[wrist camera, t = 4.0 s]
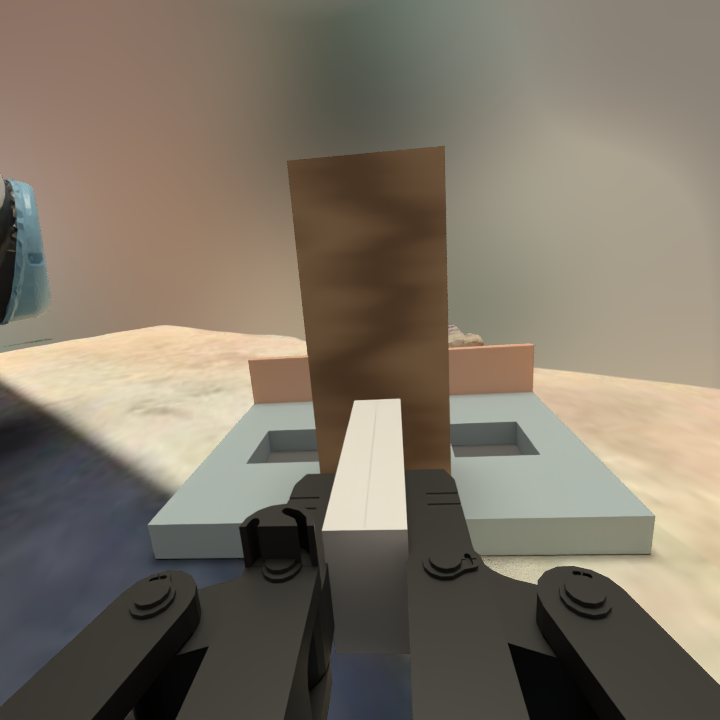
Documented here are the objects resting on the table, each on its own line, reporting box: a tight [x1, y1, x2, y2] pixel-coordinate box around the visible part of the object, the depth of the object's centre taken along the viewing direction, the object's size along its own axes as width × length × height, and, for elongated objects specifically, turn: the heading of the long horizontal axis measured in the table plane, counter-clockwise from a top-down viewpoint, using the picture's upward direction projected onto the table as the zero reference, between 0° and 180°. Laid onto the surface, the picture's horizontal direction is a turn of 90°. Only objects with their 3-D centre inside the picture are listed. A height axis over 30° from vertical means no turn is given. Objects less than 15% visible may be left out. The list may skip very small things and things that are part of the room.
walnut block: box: [287, 146, 451, 475], centre depth 21 cm, size 6×6×16 cm
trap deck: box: [148, 343, 655, 559], centre depth 28 cm, size 24×18×6 cm
